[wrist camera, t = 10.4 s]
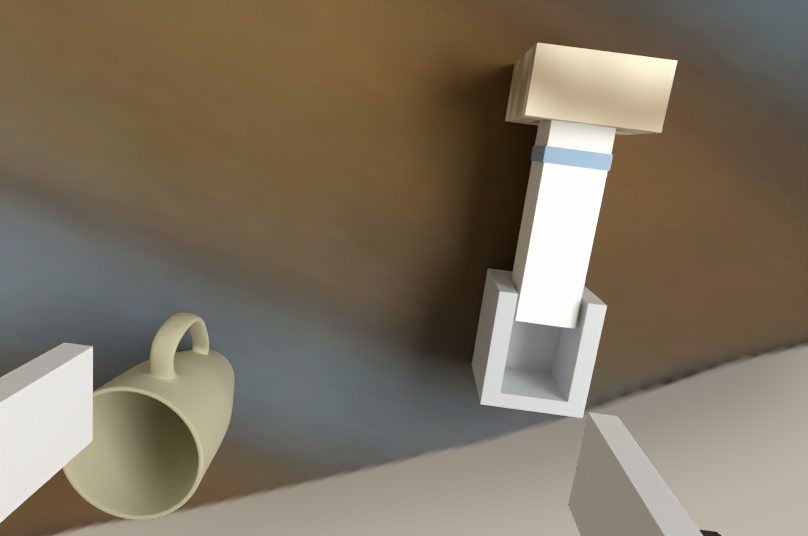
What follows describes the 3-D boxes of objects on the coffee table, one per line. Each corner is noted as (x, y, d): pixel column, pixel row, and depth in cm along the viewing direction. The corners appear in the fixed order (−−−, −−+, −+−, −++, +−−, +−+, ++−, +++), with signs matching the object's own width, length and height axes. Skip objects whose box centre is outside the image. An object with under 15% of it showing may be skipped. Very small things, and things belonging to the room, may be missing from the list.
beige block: (514, 63, 40) (537, 42, 31) (625, 78, 39) (677, 60, 31) (505, 121, 40) (525, 114, 32) (614, 135, 40) (661, 132, 32)
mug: (288, 400, 46) (241, 487, 34) (183, 440, 47) (102, 538, 35) (228, 280, 44) (157, 330, 32) (120, 326, 45) (13, 389, 33)
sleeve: (487, 268, 43) (499, 291, 36) (577, 280, 43) (606, 305, 36) (471, 364, 44) (480, 404, 38) (558, 376, 44) (582, 417, 38)
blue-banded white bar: (542, 93, 38) (556, 87, 34) (603, 101, 38) (625, 96, 34) (505, 303, 41) (514, 321, 37) (561, 311, 41) (576, 329, 37)
